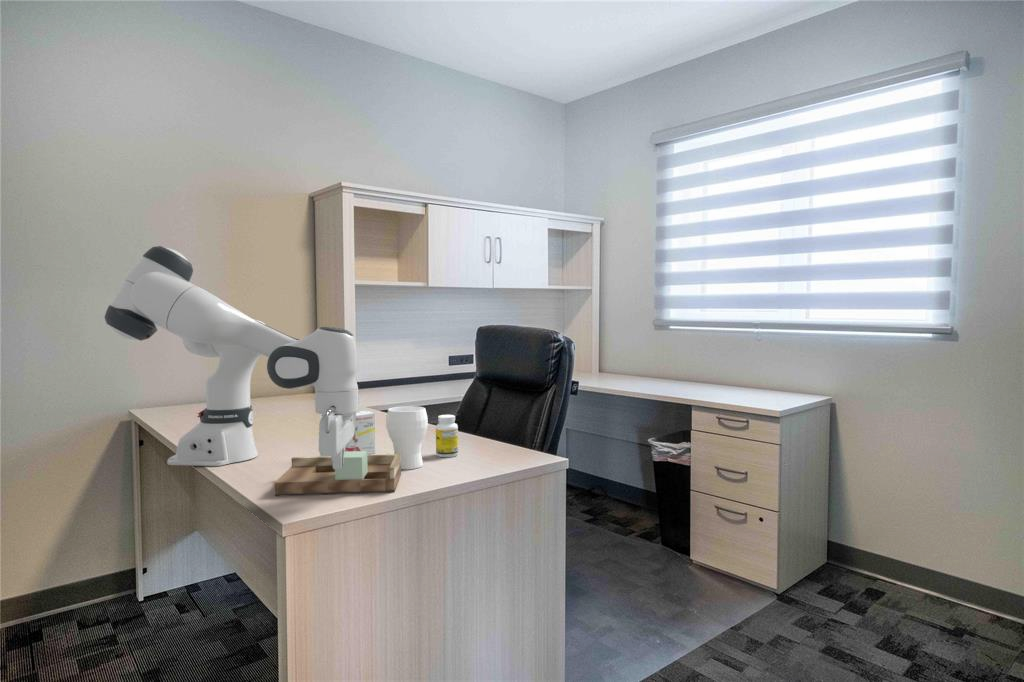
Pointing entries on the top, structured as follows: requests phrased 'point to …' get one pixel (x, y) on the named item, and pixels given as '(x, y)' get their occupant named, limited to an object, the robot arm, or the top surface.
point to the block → (353, 466)
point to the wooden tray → (320, 480)
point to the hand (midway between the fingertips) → (338, 467)
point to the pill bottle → (446, 436)
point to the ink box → (363, 433)
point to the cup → (407, 433)
